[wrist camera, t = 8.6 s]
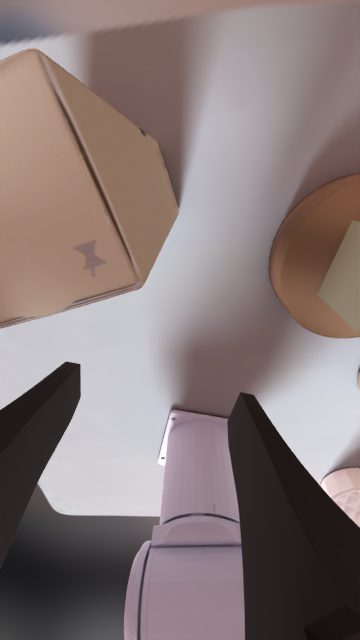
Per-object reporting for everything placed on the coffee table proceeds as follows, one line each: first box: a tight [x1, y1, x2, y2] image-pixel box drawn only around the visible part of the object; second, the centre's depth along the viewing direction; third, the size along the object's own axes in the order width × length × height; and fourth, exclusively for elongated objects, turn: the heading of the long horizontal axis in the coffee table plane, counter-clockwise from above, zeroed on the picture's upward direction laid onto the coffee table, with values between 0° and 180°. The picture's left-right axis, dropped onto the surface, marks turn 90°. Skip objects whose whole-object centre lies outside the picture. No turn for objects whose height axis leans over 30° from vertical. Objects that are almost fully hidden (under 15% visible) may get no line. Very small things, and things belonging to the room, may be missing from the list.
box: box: [0, 49, 179, 328], centre depth 11 cm, size 5×4×13 cm
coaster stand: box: [269, 174, 360, 338], centre depth 16 cm, size 10×10×3 cm
